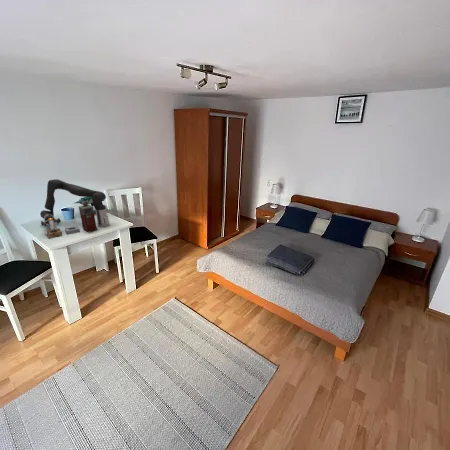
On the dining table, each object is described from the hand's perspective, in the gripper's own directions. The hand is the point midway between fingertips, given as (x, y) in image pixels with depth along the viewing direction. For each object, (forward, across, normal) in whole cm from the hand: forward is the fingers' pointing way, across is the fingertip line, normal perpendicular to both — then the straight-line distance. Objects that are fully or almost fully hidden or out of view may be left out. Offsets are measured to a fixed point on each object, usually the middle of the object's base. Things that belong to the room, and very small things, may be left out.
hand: (51, 224), depth 212 cm
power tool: (-40, +39, +11) cm, 57 cm away
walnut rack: (0, 0, +10) cm, 11 cm away
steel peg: (0, 0, +10) cm, 11 cm away
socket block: (0, +14, +10) cm, 17 cm away
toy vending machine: (+7, +28, +11) cm, 30 cm away
